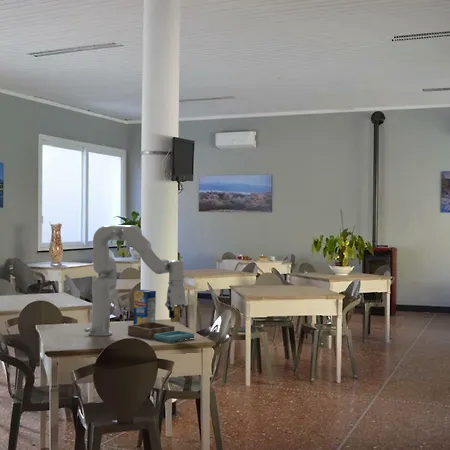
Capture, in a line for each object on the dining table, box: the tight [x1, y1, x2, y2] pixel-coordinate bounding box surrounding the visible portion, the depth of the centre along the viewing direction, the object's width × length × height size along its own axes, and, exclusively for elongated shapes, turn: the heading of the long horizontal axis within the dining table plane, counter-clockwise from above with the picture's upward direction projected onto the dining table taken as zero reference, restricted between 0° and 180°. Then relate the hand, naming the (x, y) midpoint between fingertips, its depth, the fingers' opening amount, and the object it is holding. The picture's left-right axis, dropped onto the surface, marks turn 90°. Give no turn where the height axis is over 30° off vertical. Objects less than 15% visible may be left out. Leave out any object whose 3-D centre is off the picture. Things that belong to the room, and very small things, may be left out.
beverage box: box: [132, 289, 157, 325], centre depth 373 cm, size 7×11×22 cm, turn 53°
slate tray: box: [153, 330, 195, 343], centre depth 340 cm, size 18×12×3 cm, turn 139°
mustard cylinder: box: [170, 305, 181, 323], centre depth 340 cm, size 5×5×8 cm
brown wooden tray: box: [127, 322, 175, 340], centre depth 351 cm, size 18×18×5 cm
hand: (175, 317), depth 340 cm, fingers closed on mustard cylinder, 5 cm apart
